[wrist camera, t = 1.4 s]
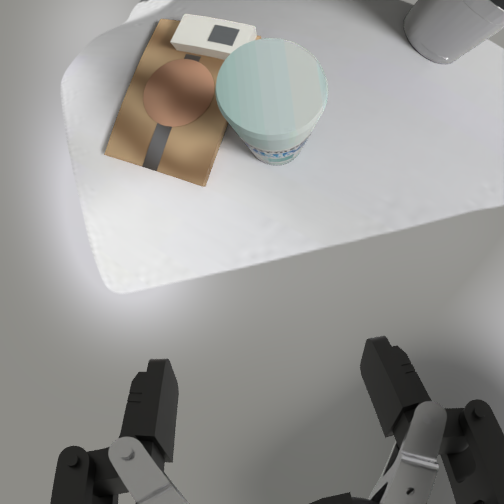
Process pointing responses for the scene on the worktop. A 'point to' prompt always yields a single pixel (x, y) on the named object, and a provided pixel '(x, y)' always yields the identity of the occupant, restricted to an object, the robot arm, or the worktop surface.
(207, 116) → the plywood panel
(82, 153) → the worktop surface
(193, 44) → the block
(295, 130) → the spray paint can
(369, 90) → the worktop surface
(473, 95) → the worktop surface
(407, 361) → the robot arm
